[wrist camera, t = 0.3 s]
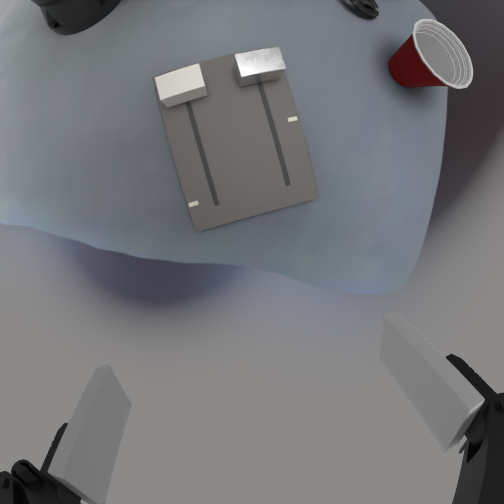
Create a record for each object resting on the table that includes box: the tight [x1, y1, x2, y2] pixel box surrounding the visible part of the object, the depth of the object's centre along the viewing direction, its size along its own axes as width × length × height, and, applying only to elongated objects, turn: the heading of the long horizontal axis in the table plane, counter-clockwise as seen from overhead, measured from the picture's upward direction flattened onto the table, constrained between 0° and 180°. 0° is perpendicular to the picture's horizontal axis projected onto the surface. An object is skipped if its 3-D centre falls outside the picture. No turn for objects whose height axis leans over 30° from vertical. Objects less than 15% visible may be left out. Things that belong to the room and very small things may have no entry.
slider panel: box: [153, 47, 319, 232], centre depth 32 cm, size 21×16×3 cm
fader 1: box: [155, 63, 207, 108], centre depth 27 cm, size 3×5×4 cm, turn 106°
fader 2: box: [234, 47, 286, 87], centre depth 27 cm, size 3×5×4 cm, turn 106°
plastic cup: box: [389, 19, 473, 89], centre depth 26 cm, size 11×11×12 cm
